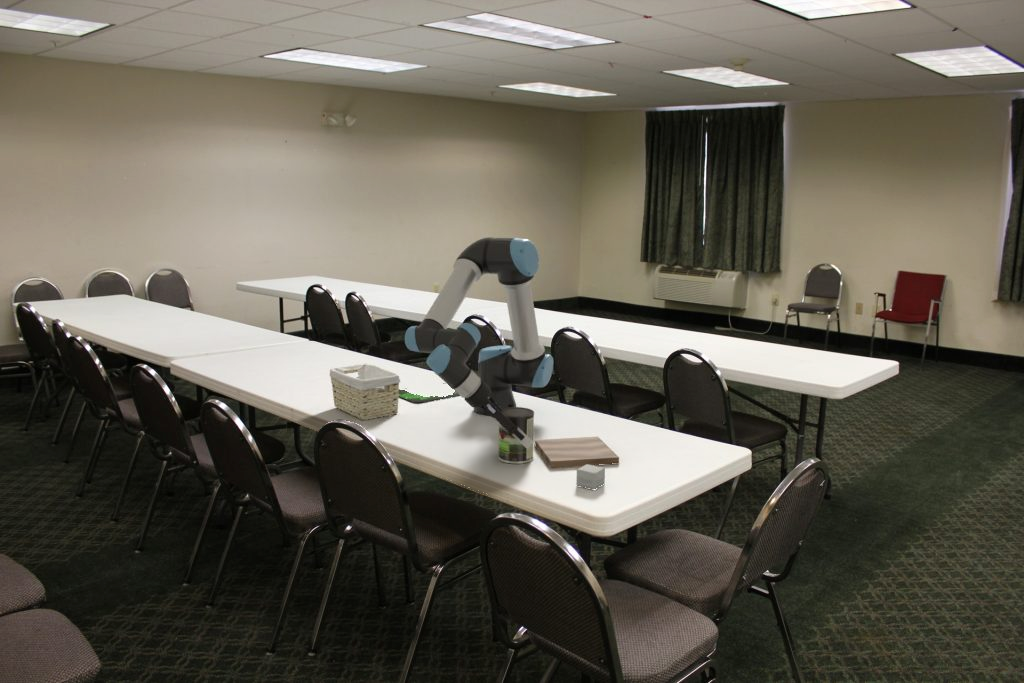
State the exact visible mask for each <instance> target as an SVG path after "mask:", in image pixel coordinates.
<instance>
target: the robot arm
mask: <svg viewBox="0 0 1024 683" xmlns="http://www.w3.org/2000/svg"><path fill="white" fill-rule="evenodd" d="M539 259H540V258H539V252H538V249H537V247H536V245H535V243H534V242H533V241H531V240H530V239H527V238H521V237H513V238H512V237H511V238H510V237H491V236H490V237H483V238H480V239H478V240H476V241H475V242H472V243H471V244H470V245H468V246H467V247H466V248H464V250H463V251H462V252H461V253H460V254H459V255H458V256H457V258H456V259H455V261H454V263H453V266H452V268H453V271H452V272H451V274H450V275H449V277H448V278H447V280H446V282H445V284H444V285H443V287H442V289H441V290H440V292H439V293H438V295H437V296H436V299H435V300H434V301H433V303H432V305H431V306H430V308H429V310H428V311H427V313H426V315H425V316H424V318H423V320H422V321H421V323H420V324H419V325H412V326H410V327H408V328H407V330H406V332H405V335H404V344H405V346H406V348H407V349H408V350H409V351H413V352H417V353H426V354H429V355H428V356H427V359H426V365H427V366H428V367H429V368H430V369H431V370H432V372H433V373H434V374H435V375H437V376H438V377H439V378H440V379H441V380H443V381H444V383H445V384H448V385H449V386H450V387H451V388H452V389H454V390H455V392H454V393H455V394H457V393H458V394H459V395H460V396H459V397H461V398H463V399H464V401H465V402H466V403H467V404H468V405H469V406H470V407H471V408H473V413H475V414H478V415H481V416H485V417H486V416H488V417H492V418H493V419H495V421H497V422H498V424H499V423H500V424H501V425H502V426H503V427H504V428H505V429H506V430H507V431H508V432H509V433H510V434H509V436H511V435H513V436H514V437H515V438H516V439H517V440H518V441H519V442H520V443H521V444H522V445H523V446H525V447H526V448H527V449H528V448H529V447H530V446H531V445H532V444H533V445H534V443H535V441H534V440H533V441H532V440H531V439H530V438H529V437H528V436H527V435H526V434H525V433H524V432H523V431H522V430H521V429H520V428H518V427H517V426H515V425H514V424H513V423H512V422H511V421H510V420H509V419H508V418H507V417H506V416H505V415H504V414H503V413H502V409H504V408H509V407H517V402H516V400H515V397H514V394H513V390H512V385H513V386H514V385H515V386H523V387H531V388H533V389H534V388H544V387H546V386H547V385H548V383H549V382H550V380H551V379H552V378H551V377H552V374H553V368H554V357H553V356H552V355H551V354H550V353H546V348H545V346H544V345H543V344H542V343H540V338H539V333H538V325H537V318H536V312H535V306H534V298H533V293H532V292H533V290H532V286H531V282H532V281H533V280H534V278H535V275H536V274H537V272H538V269H539V262H540V260H539ZM486 274H491V275H492V274H493V275H497V280H498V283H499V284H500V285H501V286H503V287H504V293H505V294H504V295H505V299H506V300H505V301H506V303H507V311H508V317H509V324H510V329H511V334H512V340H513V348H512V346H511V345H507V344H506V345H494V346H487V347H485V348H484V347H483V348H482V349H480V350H479V352H478V361H477V363H478V374H477V373H475V371H474V370H473V369H471V368H470V367H469V366H468V365H467V362H468V361H469V359H470V358H471V356H472V355H473V353H474V351H475V350H476V349H477V347H478V345H479V343H480V340H481V338H482V335H481V332H480V330H479V329H478V327H477V326H475V325H474V324H472V323H468V322H464V323H461V324H459V325H458V326H457V328H456V329H450V328H449V327H450V324H451V322H452V321H453V319H454V317H455V315H456V314H457V312H458V311H459V309H460V307H461V306H462V304H463V302H464V300H465V299H466V297H467V295H468V293H469V291H470V290H471V288H472V287H473V285H474V283H475V282H478V281H479V280H480V279H481V277H482V276H484V275H486ZM512 427H513V428H512ZM511 428H512V429H511ZM510 429H511V430H510Z"/></svg>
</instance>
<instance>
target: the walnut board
mask: <svg viewBox="0 0 1024 683" xmlns="http://www.w3.org/2000/svg"><path fill="white" fill-rule="evenodd" d="M534 443H535V444H534V447H535V448H536V450H537V451H538V452H539V454H540V455H541V456H542V458H543V459H544V461H545V462H546V463H547V465H548V466H549V467H550V469H559V468H560V467H562V468H575V467H574V466H578V467H583V466H584V465H586V464H588V465H594V466H600V465H599V464H610V465H613V464H612V463H619V464H620V457H619V456H618V455H617V454H616V453H615V451H613V450H612V449H611V447H609V446H608V445H607V444H606V442H604V440H602V439H601V438H600V437H599V436H586V437H585V436H584V437H583V436H582V437H567V438H566V437H565V438H549V439H535V440H534Z"/></svg>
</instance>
